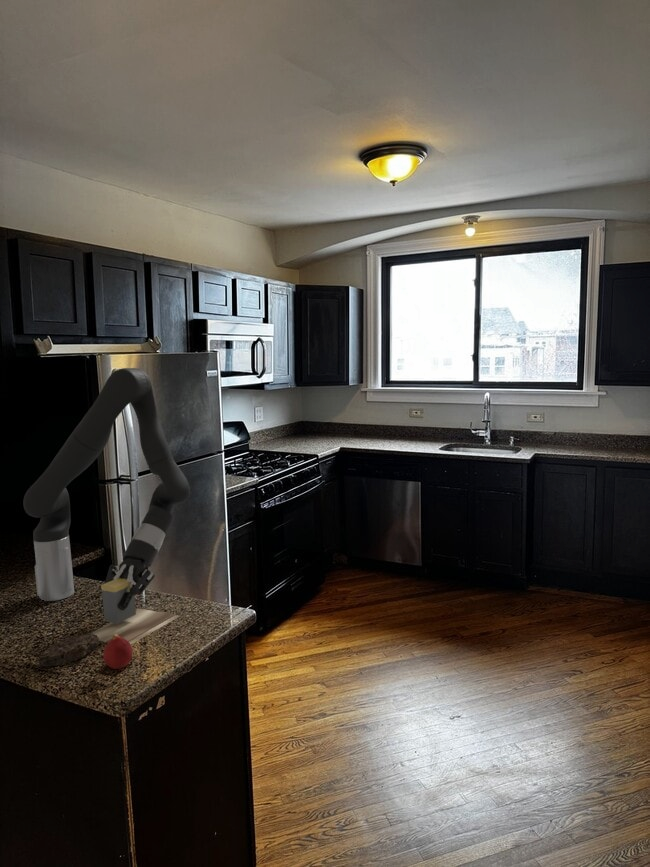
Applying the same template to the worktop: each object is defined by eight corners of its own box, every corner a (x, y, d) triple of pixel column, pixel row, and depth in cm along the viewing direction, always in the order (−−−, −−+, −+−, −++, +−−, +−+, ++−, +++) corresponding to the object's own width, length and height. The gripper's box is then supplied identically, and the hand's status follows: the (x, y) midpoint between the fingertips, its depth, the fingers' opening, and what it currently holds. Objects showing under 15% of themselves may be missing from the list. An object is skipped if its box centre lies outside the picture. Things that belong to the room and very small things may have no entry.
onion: (126, 661, 129) (123, 625, 128) (139, 669, 124) (135, 633, 124) (100, 671, 125) (97, 635, 124) (112, 680, 120) (109, 643, 120)
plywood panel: (83, 641, 139) (83, 636, 139) (139, 612, 155) (138, 607, 155) (127, 651, 133) (126, 645, 133) (180, 620, 149) (180, 615, 149)
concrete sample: (106, 649, 135) (104, 628, 135) (81, 671, 125) (79, 648, 125) (60, 648, 137) (58, 627, 137) (32, 669, 127) (30, 647, 127)
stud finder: (104, 621, 144) (101, 585, 143) (123, 611, 150) (120, 577, 149) (117, 624, 142) (114, 587, 141) (136, 614, 147) (133, 579, 147)
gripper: (116, 535, 154) (82, 596, 144) (158, 540, 147) (125, 605, 138) (133, 549, 159) (101, 609, 150) (174, 554, 153) (143, 617, 143)
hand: (113, 607), depth 144 cm, fingers closed on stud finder, 4 cm apart
